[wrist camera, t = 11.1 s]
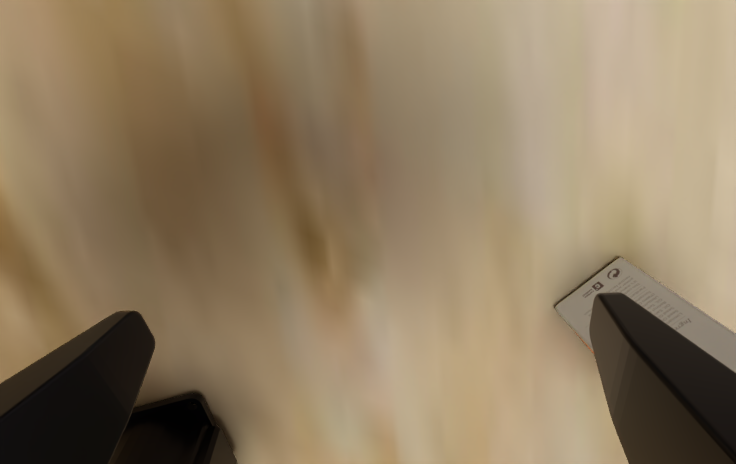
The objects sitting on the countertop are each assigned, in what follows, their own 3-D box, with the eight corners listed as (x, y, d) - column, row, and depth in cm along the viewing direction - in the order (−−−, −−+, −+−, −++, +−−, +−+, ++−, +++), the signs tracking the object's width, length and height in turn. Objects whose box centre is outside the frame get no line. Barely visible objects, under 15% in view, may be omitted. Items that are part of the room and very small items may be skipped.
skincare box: (549, 306, 23) (760, 536, 12) (618, 253, 22) (915, 444, 11) (609, 374, 25) (840, 628, 13) (675, 327, 24) (978, 555, 13)
